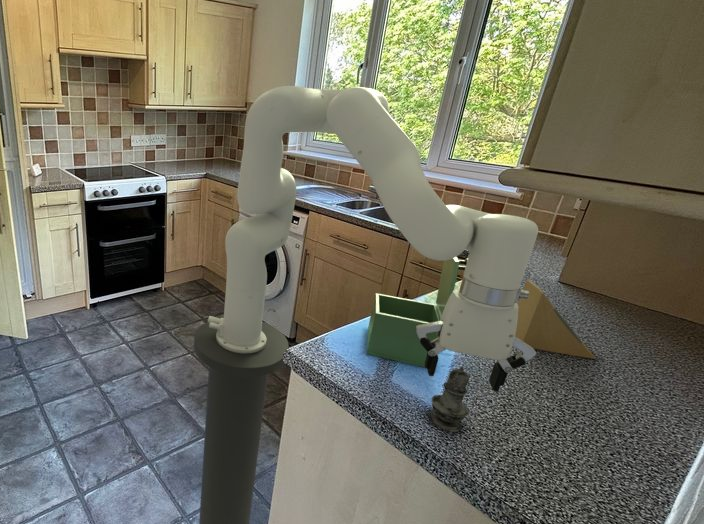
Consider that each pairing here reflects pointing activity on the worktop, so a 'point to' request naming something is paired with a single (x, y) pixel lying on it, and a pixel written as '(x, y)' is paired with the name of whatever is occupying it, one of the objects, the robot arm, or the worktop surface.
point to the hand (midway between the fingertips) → (460, 379)
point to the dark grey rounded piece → (450, 402)
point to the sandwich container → (546, 326)
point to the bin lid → (448, 281)
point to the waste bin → (399, 328)
